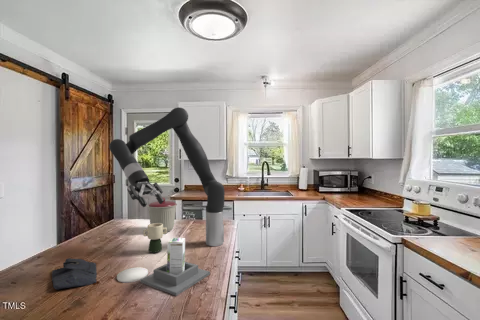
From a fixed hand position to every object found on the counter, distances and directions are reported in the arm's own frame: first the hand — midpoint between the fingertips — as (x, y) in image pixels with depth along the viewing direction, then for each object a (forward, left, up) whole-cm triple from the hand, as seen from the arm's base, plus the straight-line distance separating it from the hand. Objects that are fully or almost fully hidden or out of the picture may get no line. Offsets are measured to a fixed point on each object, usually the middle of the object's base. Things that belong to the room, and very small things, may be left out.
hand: (154, 204), depth 103 cm
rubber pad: (+9, -1, -26) cm, 28 cm away
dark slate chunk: (+21, -20, -27) cm, 40 cm away
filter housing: (+2, +15, -26) cm, 30 cm away
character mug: (-13, -14, -27) cm, 33 cm away
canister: (-40, -39, -27) cm, 62 cm away
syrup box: (+2, +15, -27) cm, 30 cm away
